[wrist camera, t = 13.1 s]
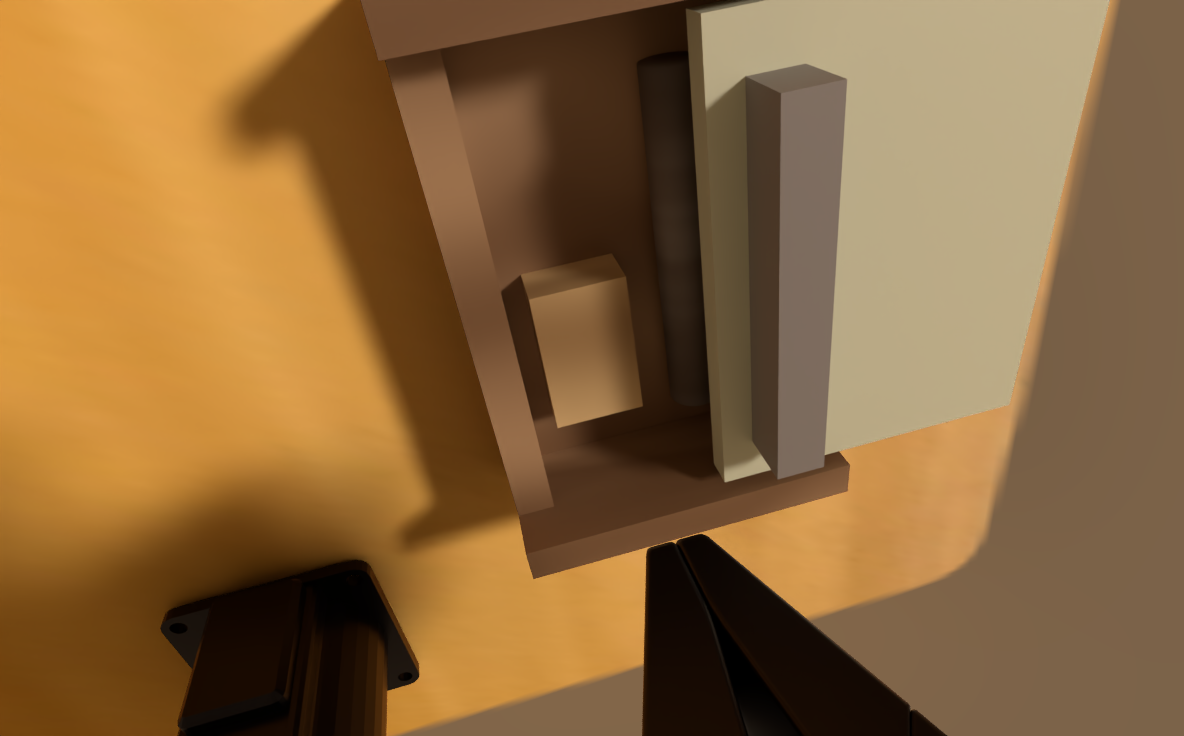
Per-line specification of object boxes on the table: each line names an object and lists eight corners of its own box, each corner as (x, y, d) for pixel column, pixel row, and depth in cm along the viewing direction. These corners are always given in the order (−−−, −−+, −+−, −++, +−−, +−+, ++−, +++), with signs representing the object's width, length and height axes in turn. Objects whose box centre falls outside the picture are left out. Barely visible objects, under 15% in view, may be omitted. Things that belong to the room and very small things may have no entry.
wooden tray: (778, 401, 23) (847, 491, 20) (512, 470, 22) (533, 578, 19) (783, -106, 15) (900, -111, 12) (370, -29, 14) (358, -9, 11)
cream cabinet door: (989, 388, 20) (1049, 437, 18) (713, 463, 19) (747, 522, 17) (1093, -73, 14) (1202, -71, 12) (685, 8, 13) (733, 25, 11)
